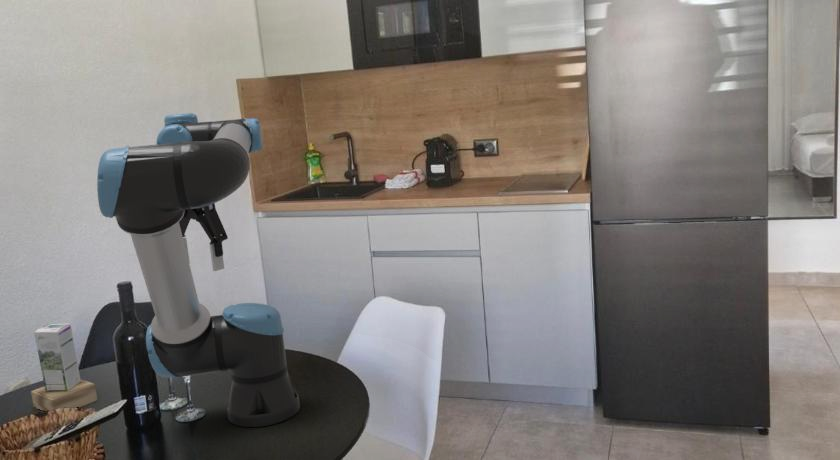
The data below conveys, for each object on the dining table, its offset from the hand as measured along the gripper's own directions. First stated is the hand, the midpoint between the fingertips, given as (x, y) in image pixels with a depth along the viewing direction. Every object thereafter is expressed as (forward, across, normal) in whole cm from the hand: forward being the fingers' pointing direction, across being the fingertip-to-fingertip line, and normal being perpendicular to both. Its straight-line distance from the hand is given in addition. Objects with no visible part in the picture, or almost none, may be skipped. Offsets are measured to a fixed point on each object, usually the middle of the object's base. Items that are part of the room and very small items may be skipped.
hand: (201, 267), depth 185 cm
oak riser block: (+27, +16, +30) cm, 43 cm away
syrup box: (+23, +16, +30) cm, 41 cm away
